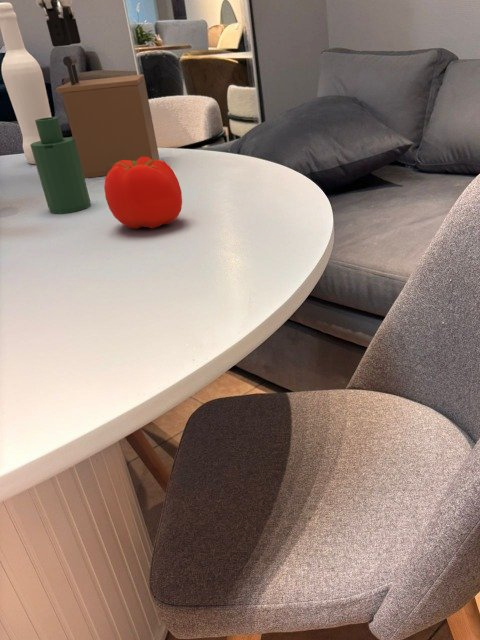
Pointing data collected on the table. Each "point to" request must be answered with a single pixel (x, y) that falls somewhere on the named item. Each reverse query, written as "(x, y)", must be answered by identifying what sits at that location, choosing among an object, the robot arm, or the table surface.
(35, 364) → the table surface
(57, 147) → the bottle small
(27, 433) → the table surface
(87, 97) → the case
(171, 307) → the table surface
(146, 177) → the tomato
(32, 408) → the table surface
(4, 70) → the bottle
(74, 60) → the case lid
